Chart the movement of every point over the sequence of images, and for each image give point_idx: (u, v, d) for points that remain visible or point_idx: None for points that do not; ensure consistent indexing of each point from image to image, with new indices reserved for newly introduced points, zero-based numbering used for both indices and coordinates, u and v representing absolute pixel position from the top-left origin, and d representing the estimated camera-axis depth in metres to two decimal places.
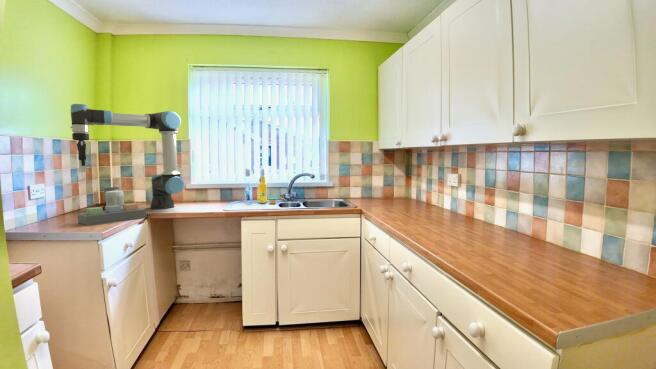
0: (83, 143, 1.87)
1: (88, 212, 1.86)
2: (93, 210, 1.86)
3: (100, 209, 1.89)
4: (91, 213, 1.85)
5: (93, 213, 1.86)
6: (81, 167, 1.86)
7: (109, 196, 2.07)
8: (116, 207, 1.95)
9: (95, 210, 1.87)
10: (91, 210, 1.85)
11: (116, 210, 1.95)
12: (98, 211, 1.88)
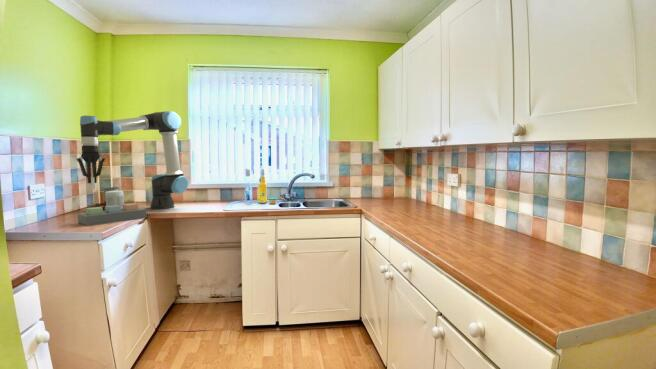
0: (78, 161, 1.82)
1: (88, 212, 1.86)
2: (93, 210, 1.86)
3: (100, 209, 1.89)
4: (91, 213, 1.85)
5: (93, 213, 1.86)
6: (90, 184, 1.87)
7: (109, 196, 2.07)
8: (116, 207, 1.95)
9: (95, 210, 1.87)
10: (91, 210, 1.85)
11: (116, 210, 1.95)
12: (98, 211, 1.88)
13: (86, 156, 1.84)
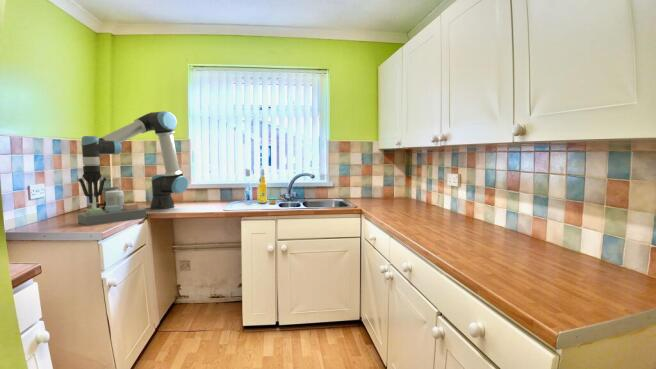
0: (79, 181, 1.83)
1: (88, 213, 1.86)
2: (93, 211, 1.86)
3: (100, 210, 1.89)
4: (91, 214, 1.85)
5: (93, 214, 1.86)
6: (91, 204, 1.89)
7: (109, 196, 2.07)
8: (116, 207, 1.95)
9: (95, 211, 1.87)
10: (91, 211, 1.85)
11: (116, 210, 1.95)
12: (98, 212, 1.88)
13: (87, 176, 1.85)
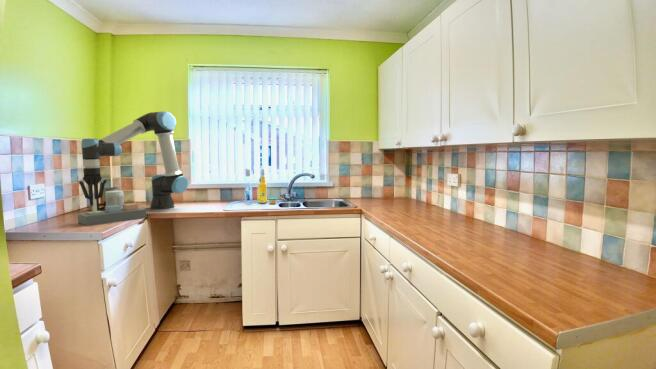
0: (80, 183, 1.83)
1: None
2: (93, 214, 1.86)
3: (100, 213, 1.89)
4: None
5: None
6: (92, 206, 1.89)
7: (109, 196, 2.07)
8: (116, 207, 1.95)
9: None
10: (91, 214, 1.85)
11: (116, 210, 1.95)
12: None
13: (88, 179, 1.85)
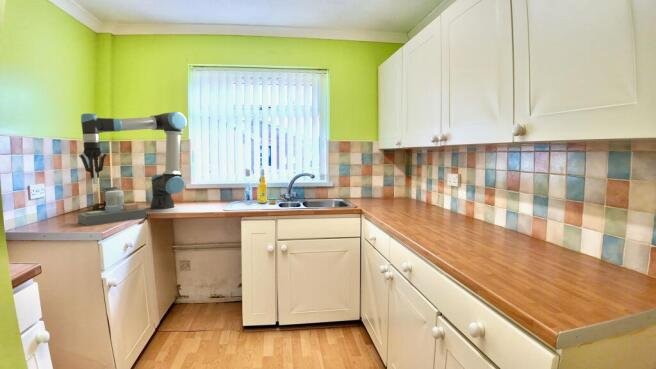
0: (81, 157, 1.90)
1: None
2: (93, 214, 1.86)
3: (100, 213, 1.89)
4: None
5: None
6: (93, 179, 1.97)
7: (109, 196, 2.07)
8: (116, 207, 1.95)
9: None
10: (91, 214, 1.85)
11: (116, 210, 1.95)
12: None
13: (88, 152, 1.93)
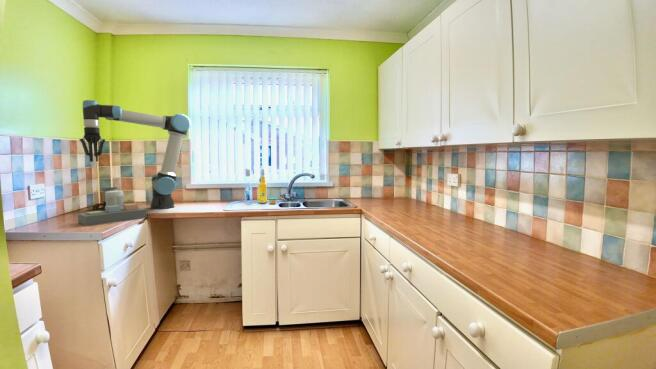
0: (81, 141, 2.01)
1: None
2: (93, 214, 1.86)
3: (100, 213, 1.89)
4: None
5: None
6: (92, 163, 2.07)
7: (109, 196, 2.07)
8: (116, 207, 1.95)
9: None
10: (91, 214, 1.85)
11: (116, 210, 1.95)
12: None
13: (88, 137, 2.04)
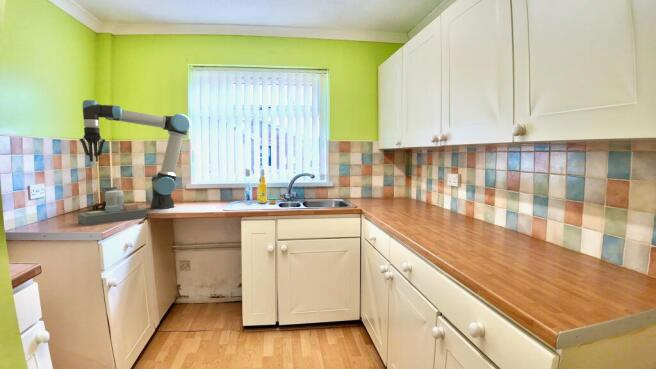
0: (81, 141, 2.01)
1: None
2: (93, 214, 1.86)
3: (100, 213, 1.89)
4: None
5: None
6: (92, 163, 2.08)
7: (109, 196, 2.07)
8: (116, 207, 1.95)
9: None
10: (91, 214, 1.85)
11: (116, 210, 1.95)
12: None
13: (88, 137, 2.04)
